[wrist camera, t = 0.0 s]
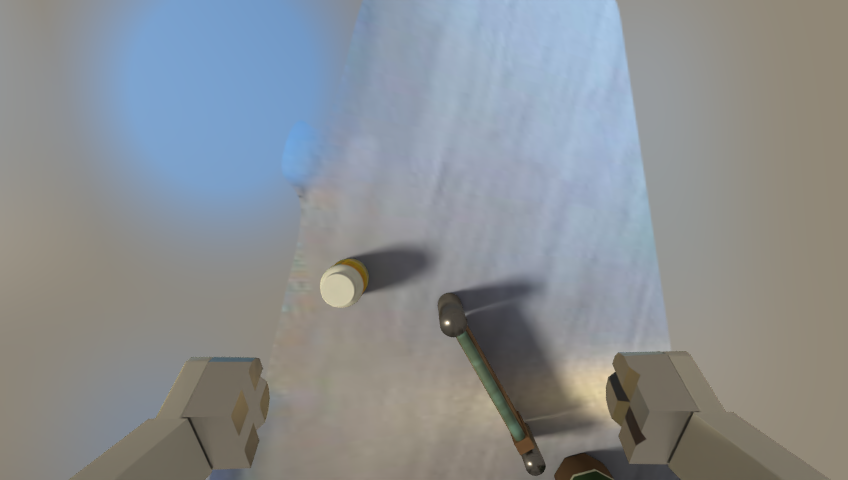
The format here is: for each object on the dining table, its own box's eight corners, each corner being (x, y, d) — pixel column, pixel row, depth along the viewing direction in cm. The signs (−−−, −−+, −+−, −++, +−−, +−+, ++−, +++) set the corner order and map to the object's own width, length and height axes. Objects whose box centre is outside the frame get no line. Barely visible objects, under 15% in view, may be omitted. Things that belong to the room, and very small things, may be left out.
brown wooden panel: (450, 323, 65) (454, 339, 58) (463, 316, 65) (468, 331, 58) (510, 427, 67) (520, 455, 59) (523, 420, 67) (534, 447, 59)
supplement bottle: (353, 304, 66) (340, 322, 57) (322, 279, 66) (305, 294, 56) (377, 274, 66) (369, 288, 56) (347, 249, 66) (333, 259, 56)
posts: (433, 300, 66) (435, 318, 56) (453, 288, 66) (458, 305, 56) (515, 442, 68) (530, 485, 58) (535, 432, 68) (554, 473, 58)
